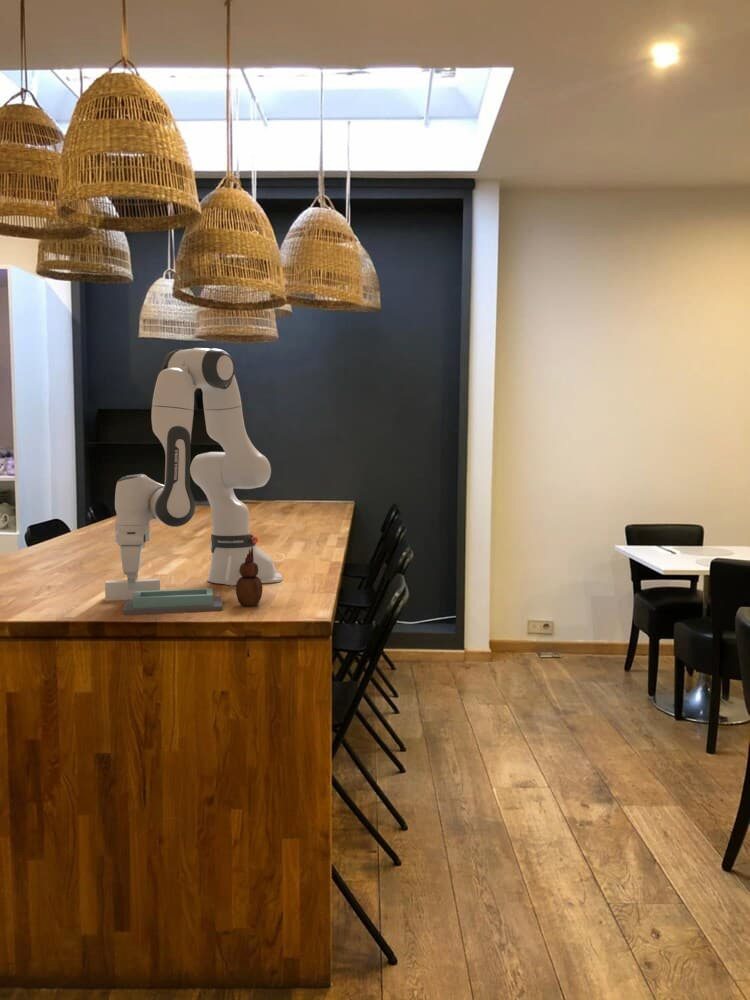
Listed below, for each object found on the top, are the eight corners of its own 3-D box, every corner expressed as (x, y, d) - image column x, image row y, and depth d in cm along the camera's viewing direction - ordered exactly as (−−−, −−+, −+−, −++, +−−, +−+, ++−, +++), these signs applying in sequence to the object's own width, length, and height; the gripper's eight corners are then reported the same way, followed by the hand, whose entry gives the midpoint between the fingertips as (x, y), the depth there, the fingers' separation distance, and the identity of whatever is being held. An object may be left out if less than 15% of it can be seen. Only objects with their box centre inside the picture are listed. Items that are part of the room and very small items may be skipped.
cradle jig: (220, 599, 204) (220, 586, 204) (222, 610, 192) (222, 596, 192) (127, 603, 199) (127, 589, 199) (122, 614, 186) (122, 600, 186)
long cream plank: (160, 596, 209) (159, 578, 209) (160, 598, 206) (159, 580, 205) (106, 598, 205) (105, 580, 205) (105, 601, 202) (105, 582, 202)
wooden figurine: (251, 601, 202) (251, 545, 201) (266, 604, 199) (266, 547, 197) (231, 605, 197) (231, 548, 196) (246, 608, 193) (246, 550, 192)
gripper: (123, 530, 213) (123, 579, 214) (117, 539, 193) (117, 593, 194) (146, 530, 214) (146, 579, 215) (143, 539, 195) (143, 592, 196)
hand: (133, 586), depth 205 cm, fingers open, 8 cm apart
